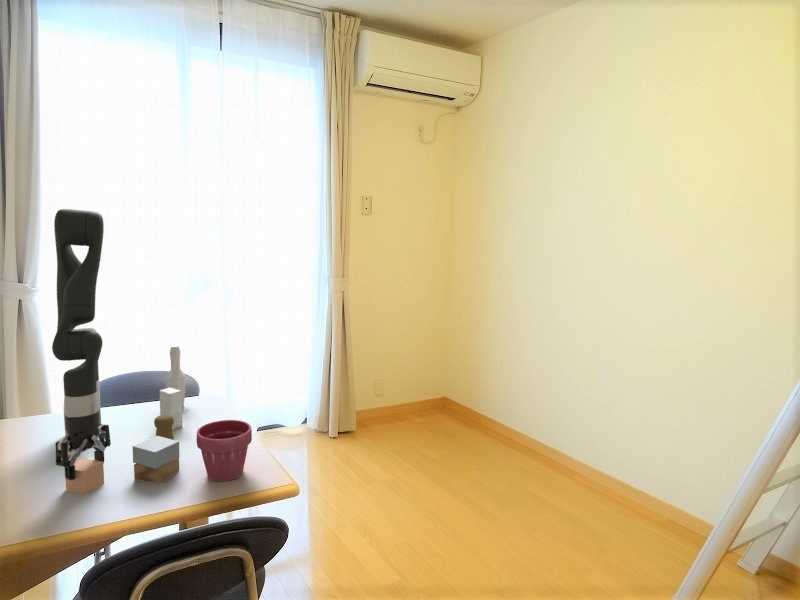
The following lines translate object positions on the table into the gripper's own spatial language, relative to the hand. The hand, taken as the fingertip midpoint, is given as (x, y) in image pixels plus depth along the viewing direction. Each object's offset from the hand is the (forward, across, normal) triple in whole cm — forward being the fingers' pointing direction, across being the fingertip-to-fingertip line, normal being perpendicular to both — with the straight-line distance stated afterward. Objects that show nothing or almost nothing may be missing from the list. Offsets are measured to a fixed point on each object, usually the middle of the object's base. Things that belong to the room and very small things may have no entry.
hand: (85, 472), depth 144 cm
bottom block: (+4, -12, +12) cm, 17 cm away
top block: (0, -12, +12) cm, 17 cm away
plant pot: (+4, -19, +28) cm, 34 cm away
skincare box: (+4, -41, -8) cm, 42 cm away
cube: (+4, 0, 0) cm, 4 cm away
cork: (+4, -24, +4) cm, 25 cm away
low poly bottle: (+4, -56, -19) cm, 60 cm away
